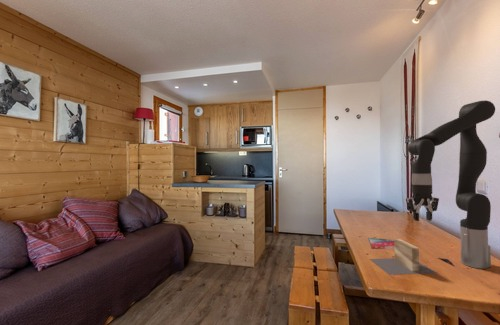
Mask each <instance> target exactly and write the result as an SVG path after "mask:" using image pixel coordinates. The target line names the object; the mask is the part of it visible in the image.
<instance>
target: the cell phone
mask: <svg viewBox="0 0 500 325" xmlns="http://www.w3.org/2000/svg"><path fill="white" fill-rule="evenodd" d="M437 259H438V260H441V261H442V262H444V263H446V264H448V265H450V266H452V267H454V263H452V262H451V261H450V260H449V259H446V258H438V257H437Z"/></svg>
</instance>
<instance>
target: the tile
mask: <svg viewBox="0 0 500 325" xmlns="http://www.w3.org/2000/svg"><path fill="white" fill-rule="evenodd" d="M393 240H394V244H395V248H394V258H395V260H396V261H397V262H399V263H400V264H402V265H403V266H405V267H406V268H408V269H409V270H411V271H412V272H415V271H419V262H420V248H419V247H417V246H416V245H413V244H412V243H409V242H408V241H405V240H403V239H400V238H394V239H393Z"/></svg>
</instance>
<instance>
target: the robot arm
mask: <svg viewBox="0 0 500 325" xmlns="http://www.w3.org/2000/svg"><path fill="white" fill-rule="evenodd" d="M495 113H496V106H495V105H494V102H491V100H478V101H474V102H470V103H467V104H464V105H463V106H461V107H460V109H459V111H458V117H457V118H455V119H452V120H450V121H448V122H445V123H443V124H441V125H440V126H437V127H436V128H434V129H433V130H431V131H430V132H429V133H427V134H424V135H422V136H419V137H418V138H415V139H414V140H412V141H411V142H410V143H409V144H408V146H407V150H408V153H409V154H411V155H412V156H418V157H417V159H416V160H414V161H413V162H412V163H411V170H412V171H411V172H412V173H411V193H412V195H411V197H406V198H405V201H406V202H405V203H406V205H407V210H408V211H410V212H411V213H412V218H413V220H414V221H416V222H419V221H420V213H419V212H420V209H421V208H422V207H424V208H425V211H426V212H425V215H426V218H425V219H426V221H432V220H433V212H436V211H438V206H439V201H440V198H438V197H435V196H432V194H433V176H432V162H433V160H434V159H433V158H434V155H435V151H436V147H437V146H440V145H442V144H444V143H446V142H447V141H449V140H450V139H452V138H454V137H455V136H457V135H459V136H460V137H459V143H460V144H459V158H458V159H459V166H458V168H459V169H458V183H457V187H456V188H457V189H456V195H455V204H456V206H457V208H459V210H461V211H464V212H466V217H465V218H462V219H460V221H459V227H460V228H459V229H460V231H459V232H460V261H461V264H463V265H465V266H468V267H471V268H475V269H483V270H485V269H488V268H491V267H492V265H491V264H492V263H491V262H492V259H491V258H492V257H491V255H492V254H491V245H490V244H489V229H488V227H489V225H490V223H491V209H492V208H491V207H492V206H491V201H490V199H489V197H488V196H486V195H485V194H482V193H477V192H476V191H477V188H476V187H477V182H478V180H479V178H480V176H481V175H482V173H483V171H484V170H485V169H486V166H487V161H488V160H487V159H488V158H487V157H488V156H487V155H488V152H487V147H486V146H485V144H484V143H483V141H482V140H481V138H480V137H479V135H478V133H477V125H478V124H480V123H482V122H486V121H487V120H489V119H491V118H492V117H493V116H494V115H495Z"/></svg>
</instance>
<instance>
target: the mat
mask: <svg viewBox="0 0 500 325" xmlns="http://www.w3.org/2000/svg"><path fill="white" fill-rule="evenodd" d="M369 261H371V262H372V263H373V264H374V265H376V266H377V267H379V269H381V270H382V271H383V272H385V273H386V274H387V275H393V276H394V275H420V274H421V275H422V274H424V275H425V274H427V275H428V274H438V272H436V271H435V270H434V269H432V268H430V267H429V266H427V265H425V264H423V263H421V262H420V261H419V271H415V272H412V271H411V270H409V269H408V268H406V267H405V266H403V265H402V264H400V263H399V262H397V261H396V260H395V257H393V258H390V257H389V258H369Z"/></svg>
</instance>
